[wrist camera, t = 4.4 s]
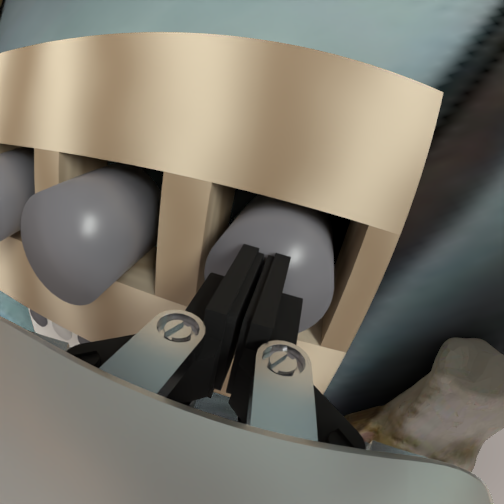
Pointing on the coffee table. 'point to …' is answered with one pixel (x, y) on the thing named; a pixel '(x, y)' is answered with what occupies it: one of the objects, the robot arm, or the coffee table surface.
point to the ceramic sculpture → (444, 406)
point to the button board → (218, 160)
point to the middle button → (90, 230)
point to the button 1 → (15, 187)
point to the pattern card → (54, 330)
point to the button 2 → (284, 250)
